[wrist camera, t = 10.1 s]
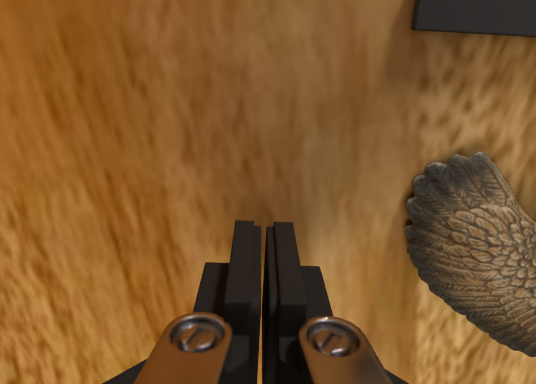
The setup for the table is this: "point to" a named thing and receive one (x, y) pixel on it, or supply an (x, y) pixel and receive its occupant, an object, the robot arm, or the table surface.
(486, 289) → the eagle figurine
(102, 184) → the table surface
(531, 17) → the frame
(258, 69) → the table surface
